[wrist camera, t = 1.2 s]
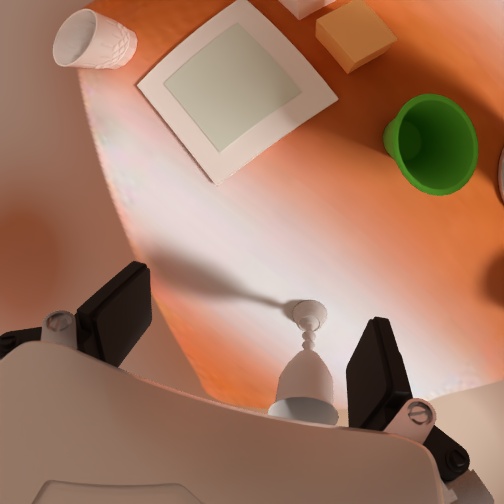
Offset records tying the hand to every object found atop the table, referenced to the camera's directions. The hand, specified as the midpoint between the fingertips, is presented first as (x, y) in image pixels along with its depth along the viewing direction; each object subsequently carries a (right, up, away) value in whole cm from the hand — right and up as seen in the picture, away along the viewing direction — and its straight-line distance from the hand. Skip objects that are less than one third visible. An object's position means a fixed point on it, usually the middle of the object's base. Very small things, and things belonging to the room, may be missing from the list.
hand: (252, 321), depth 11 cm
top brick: (+12, +27, +14) cm, 33 cm away
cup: (+18, +16, +18) cm, 30 cm away
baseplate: (-3, +23, +19) cm, 30 cm away
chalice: (+8, -6, +29) cm, 31 cm away
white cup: (-19, +32, +19) cm, 41 cm away
